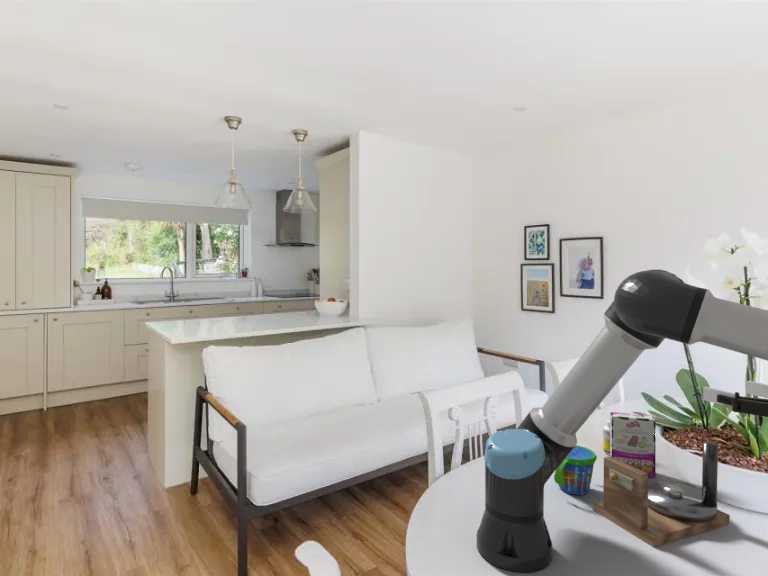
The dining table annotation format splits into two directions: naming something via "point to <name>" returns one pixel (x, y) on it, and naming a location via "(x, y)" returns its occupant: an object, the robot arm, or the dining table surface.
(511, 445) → the robot arm
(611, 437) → the candy bar box
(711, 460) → the dial
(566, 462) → the snack cup
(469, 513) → the dining table surface
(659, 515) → the levelling stand
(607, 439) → the supplement bottle
